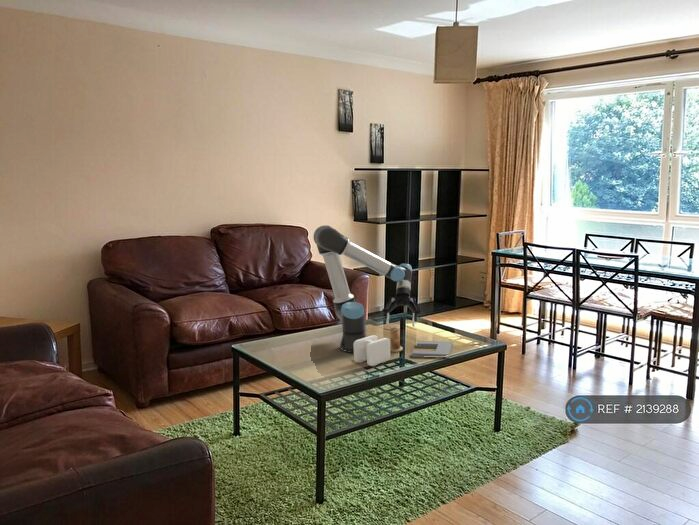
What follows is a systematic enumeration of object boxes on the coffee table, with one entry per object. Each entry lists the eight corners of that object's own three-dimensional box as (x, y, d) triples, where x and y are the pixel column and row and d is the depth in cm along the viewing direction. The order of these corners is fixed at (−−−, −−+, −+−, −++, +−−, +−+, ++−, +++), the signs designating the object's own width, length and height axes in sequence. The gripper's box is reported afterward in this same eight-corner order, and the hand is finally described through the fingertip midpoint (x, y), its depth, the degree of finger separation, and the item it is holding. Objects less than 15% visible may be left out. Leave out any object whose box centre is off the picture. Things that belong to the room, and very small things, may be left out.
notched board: (412, 357, 283) (411, 353, 282) (418, 344, 302) (417, 340, 301) (449, 358, 278) (449, 354, 278) (452, 345, 297) (452, 341, 297)
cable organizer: (368, 368, 270) (367, 344, 268) (353, 363, 278) (352, 340, 276) (391, 360, 280) (390, 337, 278) (376, 355, 288) (375, 333, 286)
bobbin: (387, 351, 292) (386, 329, 290) (390, 347, 299) (389, 325, 297) (401, 352, 291) (400, 329, 289) (403, 348, 297) (402, 325, 295)
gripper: (427, 293, 311) (424, 328, 299) (381, 293, 317) (377, 328, 305) (425, 286, 305) (423, 322, 293) (379, 286, 311) (375, 321, 299)
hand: (400, 325), depth 299 cm, fingers open, 13 cm apart
